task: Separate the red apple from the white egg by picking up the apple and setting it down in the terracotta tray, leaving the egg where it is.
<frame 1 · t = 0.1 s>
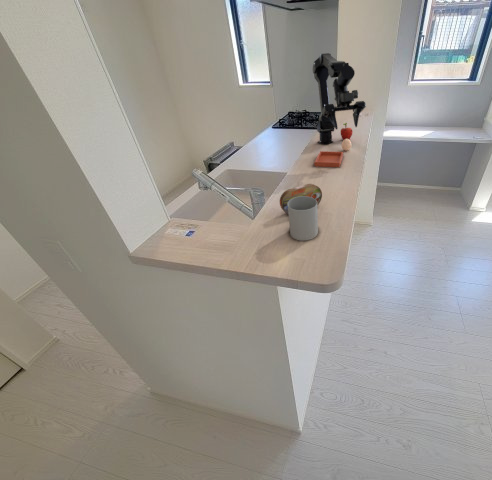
hand: (346, 128, 119), 15 cm above the worktop, tool tilted 35°, fingers open, 9 cm apart
tray: (329, 161, 128), on the worktop
egg: (346, 150, 140), on the worktop
tin: (301, 210, 92), on the worktop
apple: (346, 140, 154), on the worktop
cup: (304, 232, 81), on the worktop
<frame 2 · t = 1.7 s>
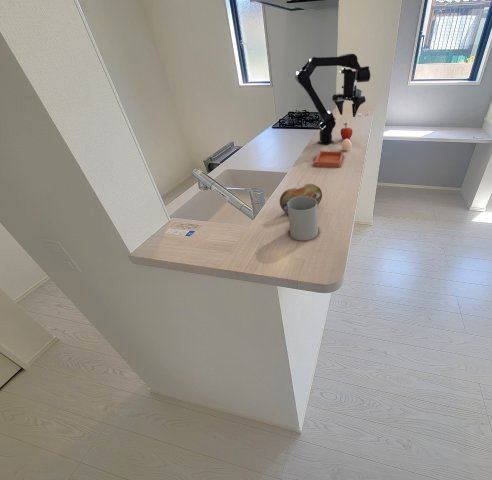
hand: (347, 115, 146), 13 cm above the worktop, tool pointing down, fingers open, 9 cm apart
nothing on the worktop moved.
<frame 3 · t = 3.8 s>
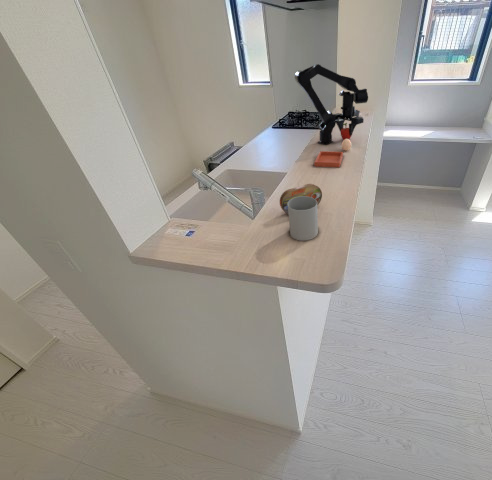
hand: (346, 134, 152), 3 cm above the worktop, tool pointing down, fingers closed on apple, 6 cm apart
apple: (346, 140, 154), on the worktop, touching gripper
everything else where it was.
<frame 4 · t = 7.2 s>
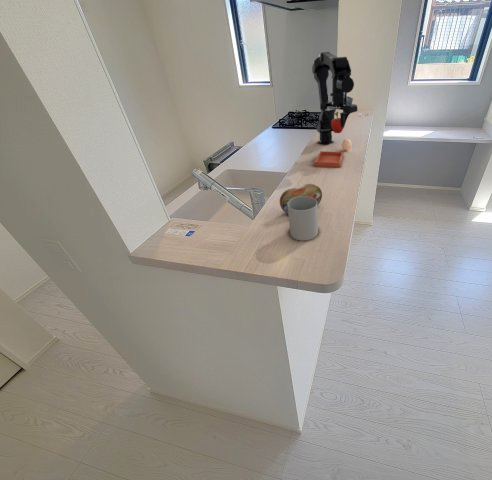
hand: (337, 126, 131), 13 cm above the worktop, tool pointing down, fingers closed on apple, 6 cm apart
apple: (337, 133, 133), point 9 cm above the worktop, touching gripper
everything else where it was.
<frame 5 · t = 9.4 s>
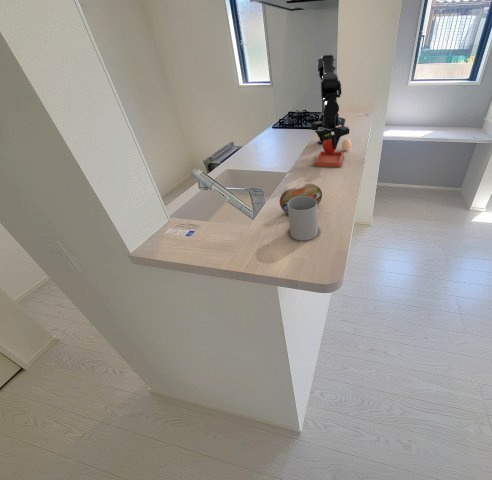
hand: (329, 147, 125), 6 cm above the worktop, tool pointing down, fingers closed on apple, 6 cm apart
apple: (329, 154, 126), point 3 cm above the worktop, touching gripper
everything else where it was.
when the fingers open (4 cm above the worktop, at t = 10.8 s): apple stays where it is, resting on tray.
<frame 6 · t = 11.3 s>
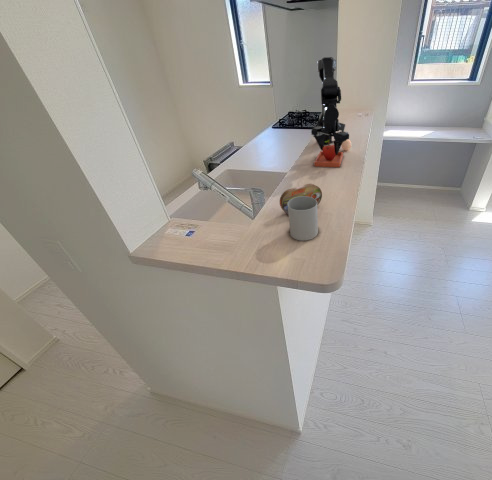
hand: (329, 152, 126), 4 cm above the worktop, tool pointing down, fingers open, 9 cm apart
apple: (329, 160, 128), resting on tray
everything else where it was.
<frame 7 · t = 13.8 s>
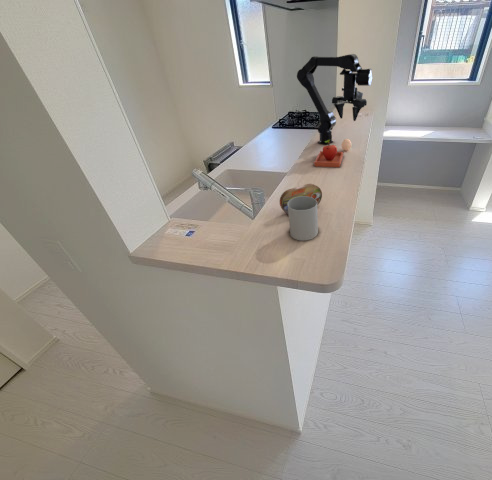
hand: (347, 119, 139), 13 cm above the worktop, tool pointing down, fingers open, 9 cm apart
nothing on the worktop moved.
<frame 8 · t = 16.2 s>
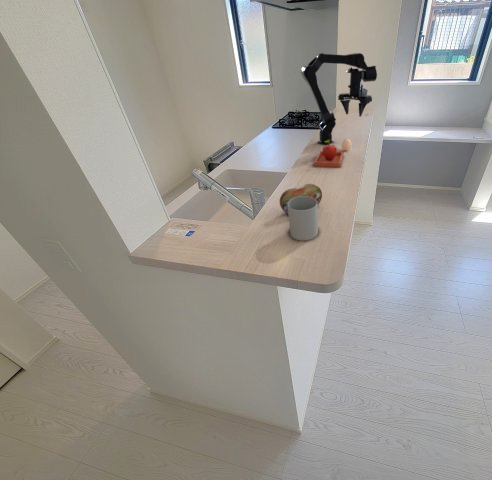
hand: (353, 115, 147), 13 cm above the worktop, tool pointing down, fingers open, 9 cm apart
nothing on the worktop moved.
at the end: apple inside the target area in the tray (0.2 cm from its centre), point 0.4 cm above the tray's base; egg moved 0.2 cm from its start; the gripper is holding nothing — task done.
